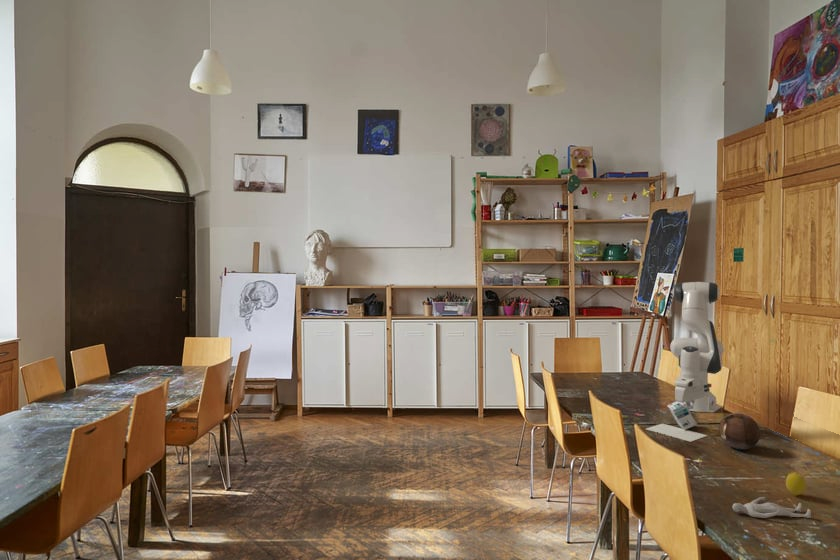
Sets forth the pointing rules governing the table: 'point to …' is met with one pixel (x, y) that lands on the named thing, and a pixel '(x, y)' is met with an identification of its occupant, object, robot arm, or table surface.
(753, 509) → the male figure
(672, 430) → the mat
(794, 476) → the lemon
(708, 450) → the table surface
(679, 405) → the light bulb box
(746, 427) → the wooden sphere
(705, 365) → the robot arm
